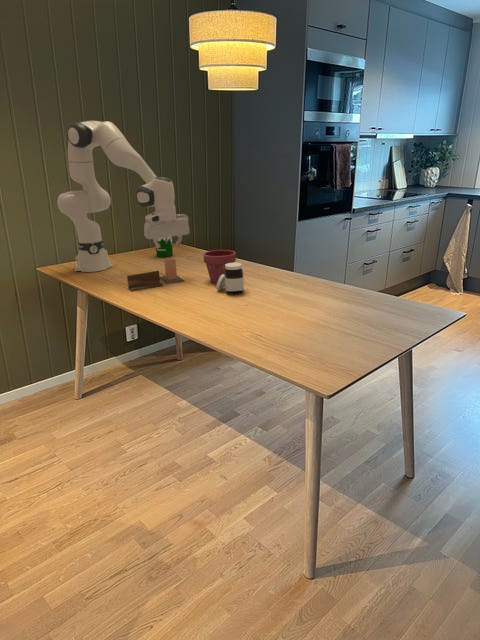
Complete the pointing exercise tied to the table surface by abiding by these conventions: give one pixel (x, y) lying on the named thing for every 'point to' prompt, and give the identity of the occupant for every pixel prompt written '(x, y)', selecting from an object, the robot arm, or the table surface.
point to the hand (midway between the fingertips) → (168, 246)
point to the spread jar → (232, 279)
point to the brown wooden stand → (144, 281)
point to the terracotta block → (170, 268)
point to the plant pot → (218, 262)
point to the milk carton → (164, 247)
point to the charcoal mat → (171, 280)
